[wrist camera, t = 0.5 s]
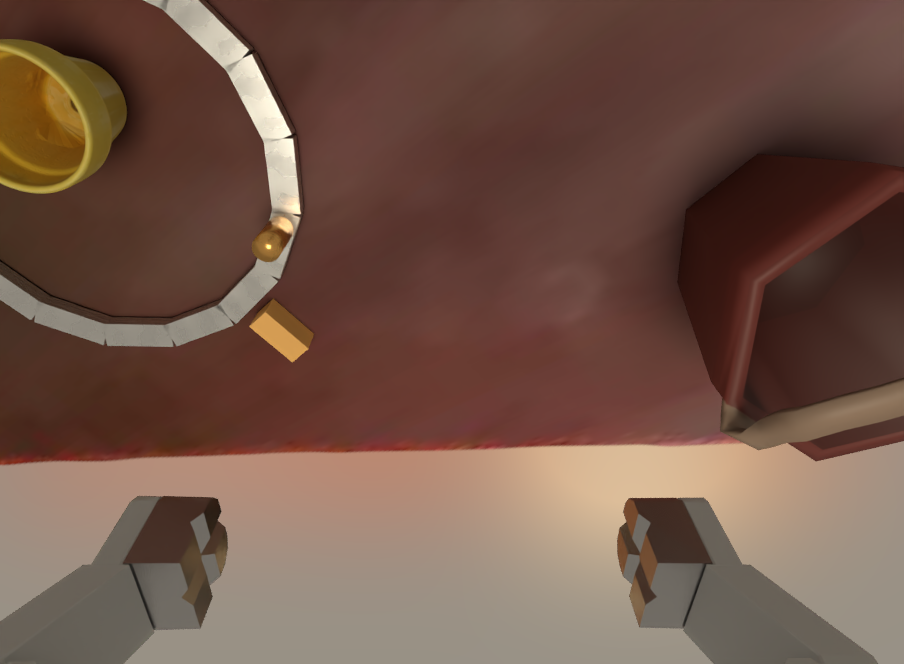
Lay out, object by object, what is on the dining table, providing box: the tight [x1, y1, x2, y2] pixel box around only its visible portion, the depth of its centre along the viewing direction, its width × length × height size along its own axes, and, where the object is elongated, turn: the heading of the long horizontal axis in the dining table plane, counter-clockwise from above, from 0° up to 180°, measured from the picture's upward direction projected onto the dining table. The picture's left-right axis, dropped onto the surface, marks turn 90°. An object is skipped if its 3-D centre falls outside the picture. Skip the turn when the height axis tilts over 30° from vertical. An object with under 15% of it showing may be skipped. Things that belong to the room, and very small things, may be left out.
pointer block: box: [249, 299, 314, 362], centre depth 59 cm, size 6×2×3 cm, turn 41°
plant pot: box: [0, 39, 127, 194], centre depth 45 cm, size 10×10×10 cm
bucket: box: [678, 154, 904, 461], centre depth 46 cm, size 24×22×25 cm
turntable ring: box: [0, 0, 304, 347], centre depth 49 cm, size 35×35×6 cm
